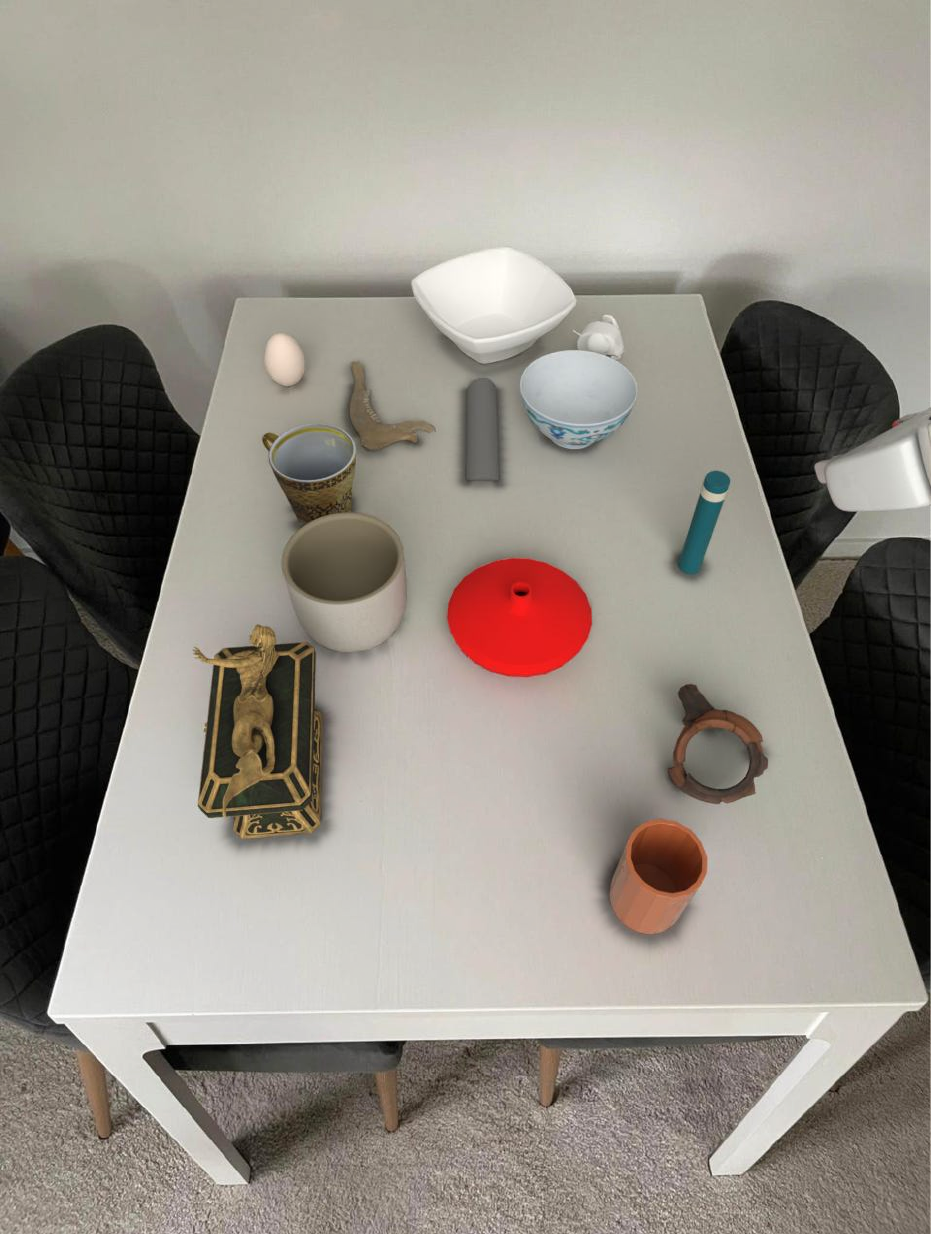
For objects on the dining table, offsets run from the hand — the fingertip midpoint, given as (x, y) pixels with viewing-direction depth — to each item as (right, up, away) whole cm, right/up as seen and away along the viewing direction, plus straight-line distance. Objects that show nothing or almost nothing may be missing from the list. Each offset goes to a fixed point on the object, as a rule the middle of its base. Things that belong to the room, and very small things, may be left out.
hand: (861, 449), depth 69 cm
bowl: (-29, +27, +54) cm, 67 cm away
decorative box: (-51, -31, +12) cm, 61 cm away
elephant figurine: (-14, +24, +52) cm, 59 cm away
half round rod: (-31, +10, +42) cm, 53 cm away
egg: (-58, +19, +49) cm, 79 cm away
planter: (-46, -14, +24) cm, 53 cm away
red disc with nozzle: (-27, -16, +23) cm, 39 cm away
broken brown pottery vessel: (-9, -28, +13) cm, 32 cm away
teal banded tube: (-7, -8, +28) cm, 30 cm away
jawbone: (-44, +15, +46) cm, 65 cm away
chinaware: (-19, +11, +42) cm, 47 cm away
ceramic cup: (-52, 0, +34) cm, 62 cm away
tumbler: (-17, -39, +5) cm, 43 cm away
